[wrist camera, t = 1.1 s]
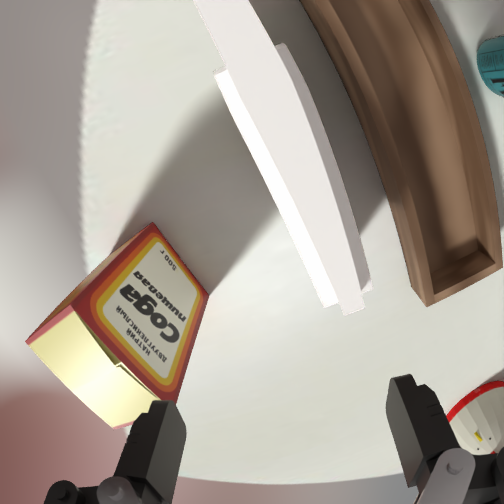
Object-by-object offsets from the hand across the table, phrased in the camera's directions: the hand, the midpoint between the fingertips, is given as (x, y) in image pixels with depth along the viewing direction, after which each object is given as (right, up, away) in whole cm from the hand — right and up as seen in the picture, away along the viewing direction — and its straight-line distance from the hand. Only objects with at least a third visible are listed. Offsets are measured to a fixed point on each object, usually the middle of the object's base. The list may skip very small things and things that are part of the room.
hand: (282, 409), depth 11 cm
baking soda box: (-11, +3, +22) cm, 25 cm away
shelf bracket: (+2, +16, +17) cm, 23 cm away
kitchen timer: (+38, -22, +30) cm, 53 cm away
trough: (+13, +18, +15) cm, 27 cm away
